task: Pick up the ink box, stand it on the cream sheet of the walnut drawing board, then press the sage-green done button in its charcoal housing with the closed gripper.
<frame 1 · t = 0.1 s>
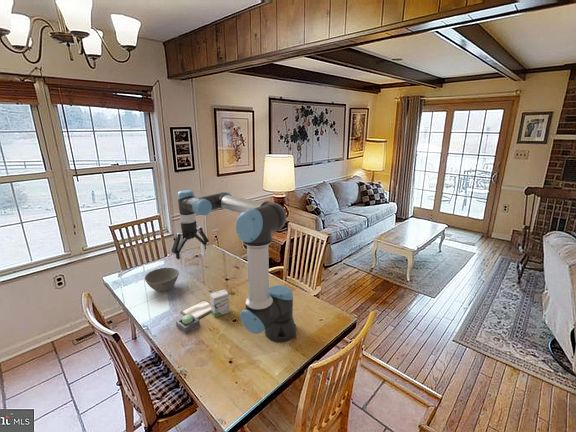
hand: (192, 259, 155), 28 cm above the table, fingers open, 13 cm apart
bowl: (163, 289, 180), on the table
done button: (187, 320, 147), point 3 cm above the table, slide at 0.0 cm
button housing: (188, 325, 148), on the table
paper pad: (199, 310, 160), on the table
ink box: (220, 313, 158), on the table
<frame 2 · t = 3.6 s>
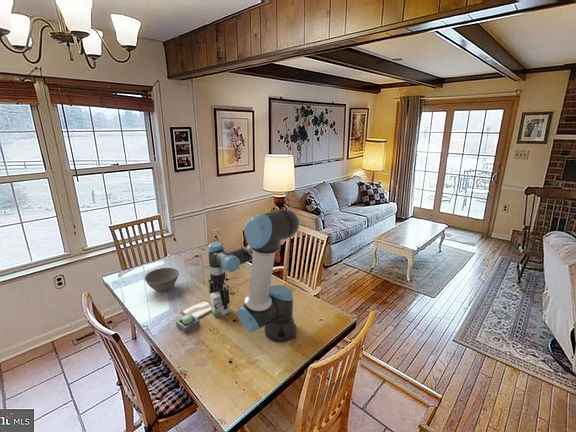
hand: (220, 311, 158), 1 cm above the table, fingers closed on ink box, 6 cm apart
ink box: (220, 313, 158), on the table, touching gripper
everything else where it was.
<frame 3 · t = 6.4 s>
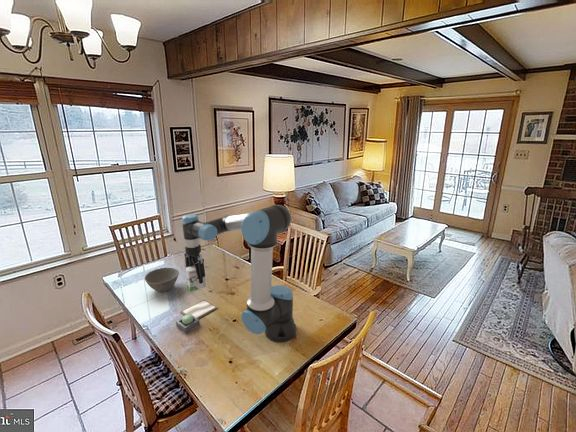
hand: (196, 286, 155), 15 cm above the table, fingers closed on ink box, 6 cm apart
ink box: (197, 287, 156), point 14 cm above the table, touching gripper
everything else where it was.
when the fingers open (3 cm above the table, at t = 9.1 s): ink box drops 1 cm, resting on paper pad.
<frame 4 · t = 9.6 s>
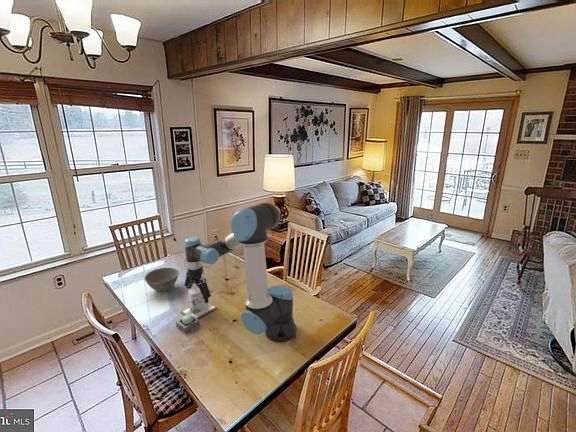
hand: (198, 303, 158), 5 cm above the table, fingers open, 13 cm apart
ink box: (199, 309, 159), point 1 cm above the table, touching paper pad
everything else where it was.
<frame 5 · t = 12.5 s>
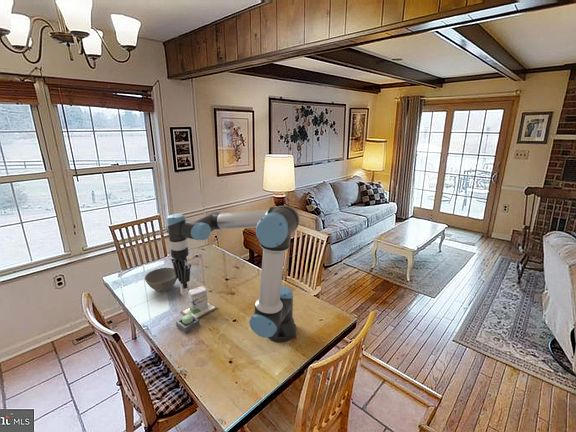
hand: (184, 293, 142), 18 cm above the table, fingers closed
nothing on the table moved.
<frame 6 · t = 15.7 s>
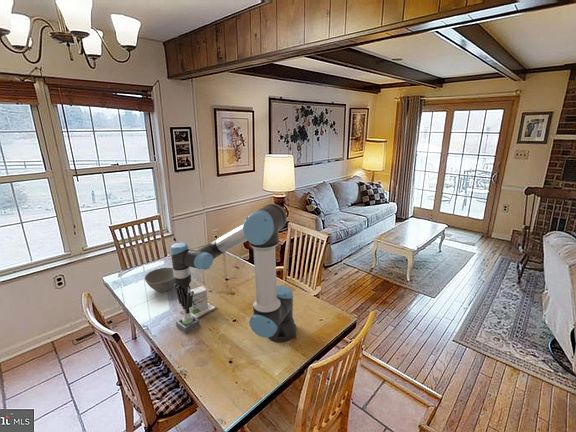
hand: (187, 317, 146), 5 cm above the table, fingers closed
done button: (187, 321, 147), point 3 cm above the table, slide at 0.5 cm, touching gripper
everything else where it was.
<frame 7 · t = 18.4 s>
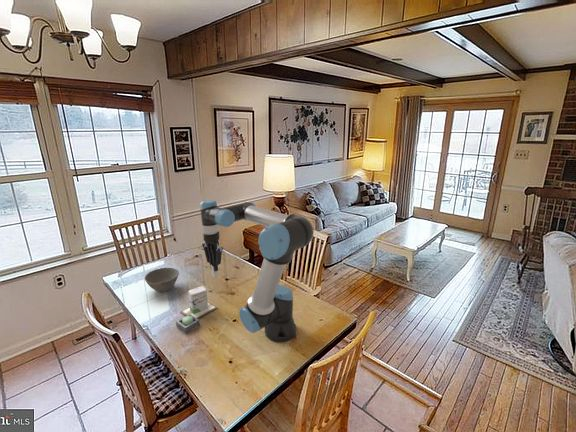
hand: (215, 276, 150), 22 cm above the table, fingers closed
done button: (187, 321, 147), point 2 cm above the table, slide at 1.0 cm
everything else where it was.
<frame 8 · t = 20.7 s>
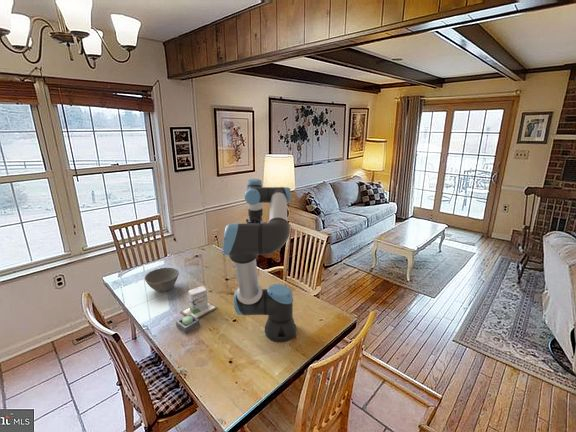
hand: (256, 249, 164), 29 cm above the table, fingers closed
nothing on the table moved.
at the end: ink box inside the target area on the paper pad (0.1 cm from its centre), point 0.6 cm above the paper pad's base; ink box tilted 0°; done button slide at 1.0 cm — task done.
